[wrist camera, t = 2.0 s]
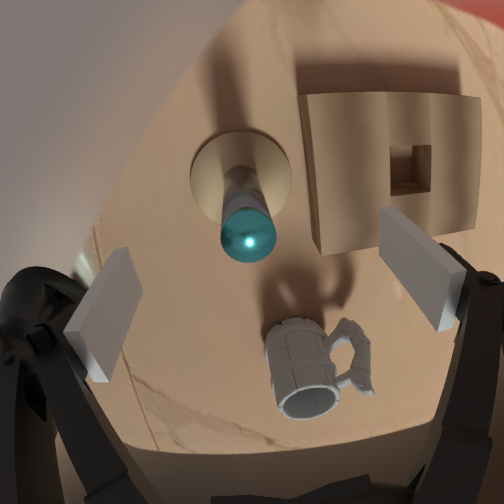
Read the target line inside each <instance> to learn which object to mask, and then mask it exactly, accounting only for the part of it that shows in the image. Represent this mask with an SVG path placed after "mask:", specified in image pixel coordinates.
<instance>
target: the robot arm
mask: <svg viewBox="0 0 504 504" xmlns="http://www.w3.org/2000/svg"><path fill="white" fill-rule="evenodd" d="M379 255H380V257H381V258H382V259H383V260H384V262H385V263H386V264H387V265H388V267H389V268H390V269H391V270H392V272H393V273H394V274H395V276H396V277H397V278H398V279H399V281H400V282H401V283H402V285H403V286H404V287H405V289H406V290H407V291H408V293H409V294H410V295H411V297H412V298H413V299H414V301H415V302H416V303H417V305H418V306H419V308H420V309H421V310H422V312H423V313H424V314H425V316H426V317H427V319H428V320H429V321H430V323H431V324H432V326H433V327H434V329H435V330H436V331H437V332H440V331H444V330H447V329H450V328H452V326H453V323H454V319H455V316H456V317H457V318H458V320H459V321H460V324H459V328H458V331H457V334H456V337H455V340H454V343H455V346H454V350H453V354H452V358H451V362H450V366H449V370H448V374H447V377H446V381H445V385H444V388H443V391H442V395H441V398H440V401H439V404H438V407H437V410H436V413H435V416H434V419H433V422H432V425H431V427H430V430H429V433H428V435H427V438H426V440H425V443H424V446H423V448H422V450H421V453H420V455H419V458H418V460H417V462H416V465H415V467H414V469H413V471H412V472H411V474H410V476H409V478H408V480H407V481H406V483H405V485H404V486H401V485H398V484H394V483H388V482H377V481H374V482H371V481H370V477H369V474H366V475H362V476H358V477H354V478H350V479H347V480H343V481H338V482H333V483H330V484H327V485H325V486H323V487H321V488H319V489H316V490H314V491H311V492H309V493H306V494H304V495H301V496H299V497H296V498H293V499H282V498H272V497H263V496H255V495H238V496H215V497H214V496H213V497H211V504H475V503H476V500H477V498H478V494H479V492H480V489H481V485H482V482H483V479H484V476H485V472H486V468H487V465H488V461H489V457H490V453H491V449H492V443H493V442H492V438H490V437H488V432H489V427H490V422H491V417H492V412H493V406H494V400H495V394H496V387H497V379H498V370H499V360H500V347H501V345H502V349H503V354H504V282H501V281H500V279H499V278H498V277H497V276H496V275H494V274H493V273H490V272H487V271H479V272H478V271H476V270H475V269H474V268H473V267H472V266H471V265H470V264H469V263H468V262H467V261H466V260H464V259H462V257H461V256H460V255H459V254H457V252H456V251H454V250H453V249H452V248H451V247H449V246H447V245H445V244H443V243H437V242H436V241H435V240H433V239H432V238H431V237H430V236H429V235H428V234H427V233H425V232H424V231H423V230H422V229H421V228H420V227H418V226H417V225H416V224H415V223H414V222H412V221H411V220H410V219H409V218H407V217H406V216H405V215H404V214H403V213H401V212H400V211H399V210H398V209H396V208H395V207H394V206H387V207H380V238H379ZM142 293H143V289H142V287H141V284H140V281H139V278H138V276H137V273H136V270H135V267H134V264H133V262H132V259H131V256H130V253H129V250H128V247H125V248H119V249H115V250H114V251H113V253H112V254H111V256H110V257H109V259H108V260H107V262H106V263H105V265H104V266H103V268H102V269H101V271H100V272H99V274H98V275H97V277H96V278H95V280H94V281H93V283H92V285H91V286H90V288H89V289H88V291H87V292H86V291H85V290H84V289H83V288H82V287H81V286H80V285H79V284H77V283H76V282H75V281H74V280H72V279H71V278H69V277H68V276H66V275H64V274H62V273H60V272H58V271H55V270H53V269H50V268H46V267H39V266H38V267H37V266H34V267H28V268H25V269H22V270H20V271H19V272H18V273H16V275H15V276H14V277H13V278H12V279H11V280H10V281H9V282H8V283H7V285H6V286H5V288H4V290H3V292H2V296H1V299H0V504H65V501H64V497H63V491H62V486H61V481H60V475H59V469H58V462H57V456H56V447H55V438H56V434H57V431H59V433H60V436H61V438H62V441H63V443H64V446H65V448H66V450H67V453H68V455H69V457H70V459H71V462H72V464H73V465H74V468H75V470H76V472H77V474H78V476H79V478H80V480H81V482H82V484H83V486H84V488H85V490H86V492H87V496H85V497H84V501H85V504H168V503H167V502H166V501H165V499H164V498H163V497H162V496H161V495H160V493H159V492H158V491H157V489H156V488H155V487H154V486H153V484H152V483H151V482H150V480H149V479H148V478H147V477H146V475H145V474H144V473H143V471H142V470H141V469H140V467H139V466H138V464H137V463H136V461H135V460H134V459H133V457H132V456H131V454H130V453H129V451H128V450H127V448H126V447H125V445H124V444H123V442H122V441H121V439H120V438H119V436H118V435H117V433H116V431H115V430H114V428H113V427H112V425H111V423H110V422H109V420H108V418H107V417H106V415H105V413H104V412H103V410H102V408H101V407H100V405H99V403H98V401H97V400H96V398H95V396H94V394H93V392H92V390H91V389H90V387H89V385H88V383H87V382H86V381H85V378H86V376H87V373H88V374H89V375H90V377H91V378H92V380H93V381H94V382H110V380H111V377H112V374H113V371H114V368H115V365H116V362H117V359H118V356H119V353H120V351H121V348H122V345H123V342H124V340H125V337H126V334H127V331H128V329H129V326H130V323H131V321H132V318H133V316H134V313H135V310H136V308H137V305H138V303H139V300H140V298H141V295H142Z"/></svg>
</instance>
